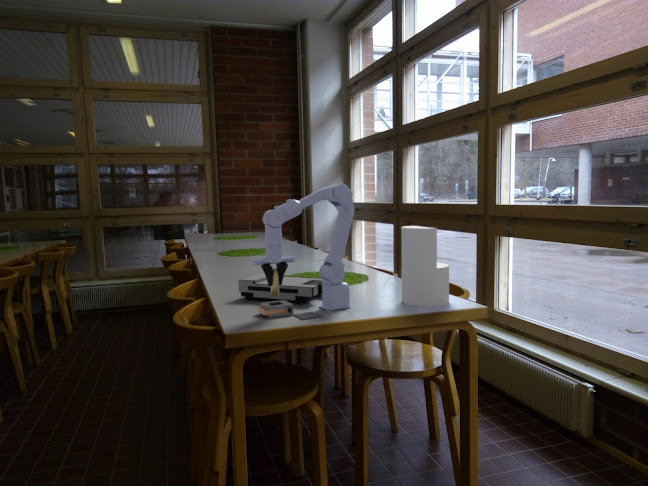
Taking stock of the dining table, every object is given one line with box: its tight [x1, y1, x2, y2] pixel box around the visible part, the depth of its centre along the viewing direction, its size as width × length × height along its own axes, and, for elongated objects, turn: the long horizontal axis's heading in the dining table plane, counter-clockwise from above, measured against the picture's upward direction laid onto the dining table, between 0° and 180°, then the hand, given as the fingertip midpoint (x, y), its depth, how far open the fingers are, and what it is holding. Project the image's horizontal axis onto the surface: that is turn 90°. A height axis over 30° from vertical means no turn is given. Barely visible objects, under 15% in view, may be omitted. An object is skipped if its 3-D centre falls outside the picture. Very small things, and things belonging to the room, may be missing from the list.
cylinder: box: [400, 225, 450, 308], centre depth 171 cm, size 17×17×28 cm
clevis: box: [256, 300, 294, 319], centre depth 157 cm, size 10×8×4 cm
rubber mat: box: [293, 311, 322, 321], centre depth 154 cm, size 7×7×1 cm
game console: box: [237, 272, 323, 305], centre depth 184 cm, size 21×32×8 cm, turn 66°
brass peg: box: [271, 267, 280, 296], centre depth 157 cm, size 3×3×9 cm
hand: (274, 285), depth 157 cm, fingers closed on brass peg, 3 cm apart
